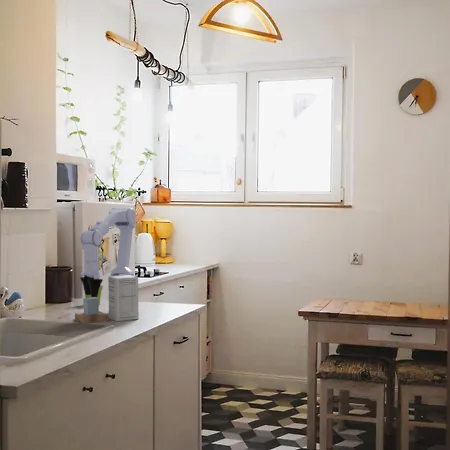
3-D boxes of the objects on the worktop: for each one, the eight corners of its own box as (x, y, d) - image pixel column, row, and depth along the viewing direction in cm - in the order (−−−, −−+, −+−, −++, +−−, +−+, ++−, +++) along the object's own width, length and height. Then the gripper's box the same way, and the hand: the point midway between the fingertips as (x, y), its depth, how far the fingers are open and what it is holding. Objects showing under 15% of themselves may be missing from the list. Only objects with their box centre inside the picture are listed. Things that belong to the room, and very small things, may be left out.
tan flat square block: (99, 318, 251) (99, 311, 251) (108, 322, 242) (108, 314, 242) (75, 320, 246) (75, 313, 246) (82, 324, 237) (82, 316, 237)
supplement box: (130, 316, 254) (130, 274, 254) (139, 319, 246) (139, 276, 246) (107, 318, 249) (107, 275, 249) (116, 321, 241) (116, 277, 241)
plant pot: (82, 303, 290) (82, 285, 290) (103, 303, 292) (103, 284, 292) (82, 306, 281) (82, 287, 281) (104, 305, 283) (104, 286, 283)
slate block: (94, 312, 247) (94, 297, 247) (98, 313, 244) (98, 298, 243) (83, 313, 245) (83, 298, 245) (87, 315, 241) (87, 299, 241)
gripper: (75, 260, 249) (75, 294, 249) (86, 262, 237) (87, 298, 237) (92, 259, 253) (92, 293, 253) (104, 262, 240) (105, 297, 240)
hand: (91, 295), depth 245 cm, fingers open, 7 cm apart
